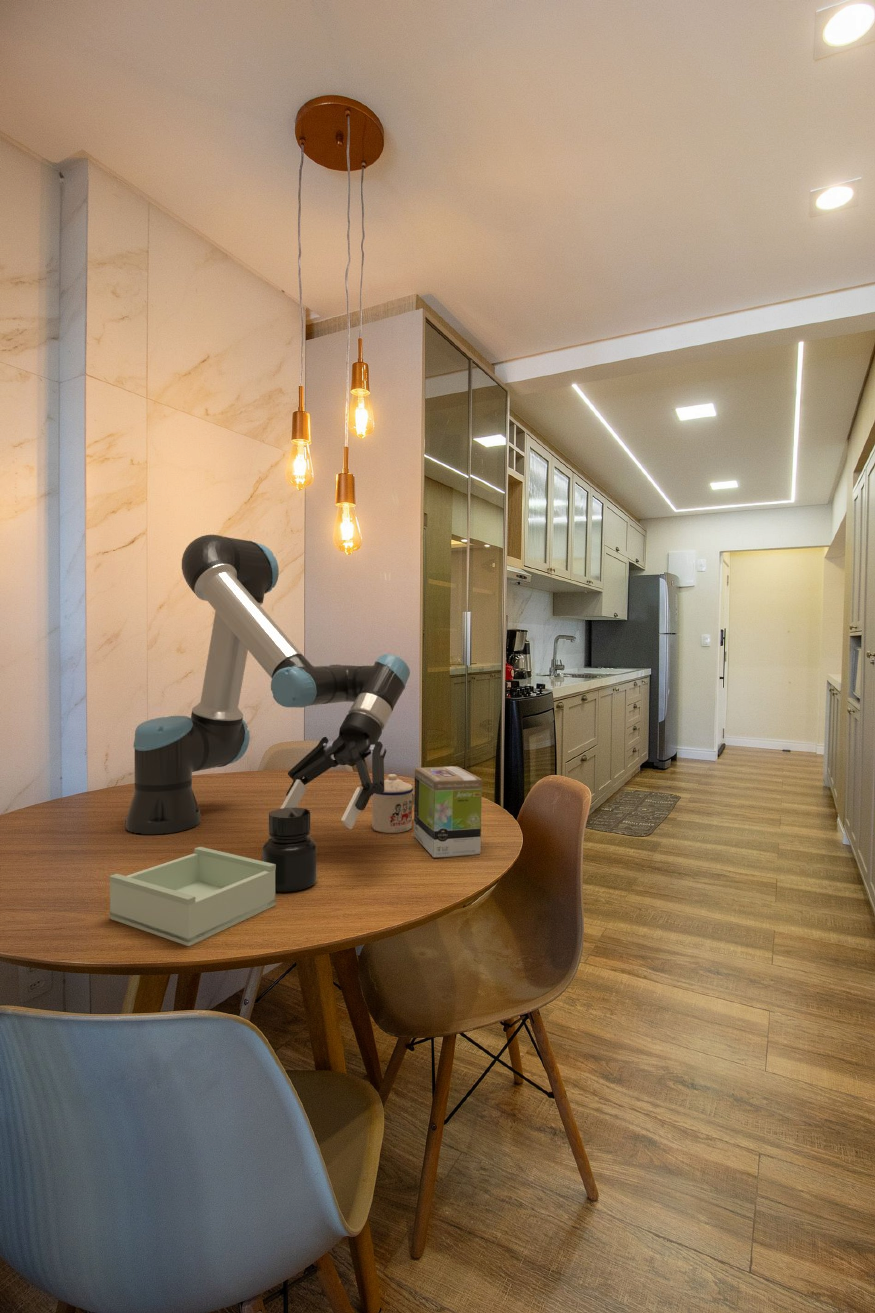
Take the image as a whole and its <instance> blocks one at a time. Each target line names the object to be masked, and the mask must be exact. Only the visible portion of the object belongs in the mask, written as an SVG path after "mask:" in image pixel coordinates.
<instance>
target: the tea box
mask: <svg viewBox="0 0 875 1313" xmlns="http://www.w3.org/2000/svg"><path fill="white" fill-rule="evenodd" d="M482 784H483V780H482V778H480V777H479V776H477V775H475V774H473V773H471V772H470V771H467V770H466V769H463V768H462V767H459V766H457V765H456V766H451V765H450V766H434V767H431V766H430V767H429V766H428V767H427V766H426V767H415V768H414V806H413V810H414V812H413V836H414V838H415V839H416V840H417V841H418V842H419V843H420V844H421V846H423V848H425V850H426V851H427V852H428V853H429V854H430V856H432V858H449V857H450V858H452V857H462V856H474V855H480V854H481V848H482V847H481V846H482V834H481V833H482V808H483V806H482V795H483V785H482Z"/></svg>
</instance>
